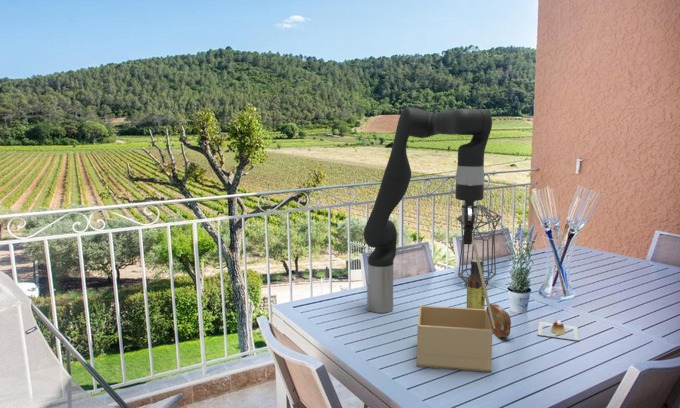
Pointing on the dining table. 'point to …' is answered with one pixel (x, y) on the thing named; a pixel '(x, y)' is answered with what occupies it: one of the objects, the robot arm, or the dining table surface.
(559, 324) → the dessert
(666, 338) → the dining table surface
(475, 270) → the sauce bottle
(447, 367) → the carton
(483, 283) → the lid flap
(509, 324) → the steak
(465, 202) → the robot arm
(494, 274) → the geometric lantern
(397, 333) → the dining table surface
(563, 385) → the dining table surface
